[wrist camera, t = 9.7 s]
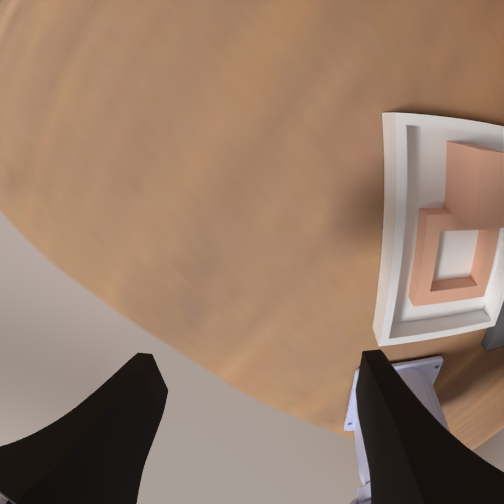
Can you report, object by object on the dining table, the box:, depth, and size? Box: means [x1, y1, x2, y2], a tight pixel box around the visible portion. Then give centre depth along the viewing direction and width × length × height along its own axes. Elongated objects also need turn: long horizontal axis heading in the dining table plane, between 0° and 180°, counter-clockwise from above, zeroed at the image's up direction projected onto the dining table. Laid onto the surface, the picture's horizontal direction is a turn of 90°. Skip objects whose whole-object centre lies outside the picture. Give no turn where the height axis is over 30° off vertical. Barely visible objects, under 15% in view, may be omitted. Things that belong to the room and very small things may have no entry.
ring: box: [408, 141, 504, 306], centre depth 14 cm, size 10×6×4 cm, turn 6°
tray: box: [373, 112, 504, 346], centre depth 15 cm, size 14×10×2 cm
